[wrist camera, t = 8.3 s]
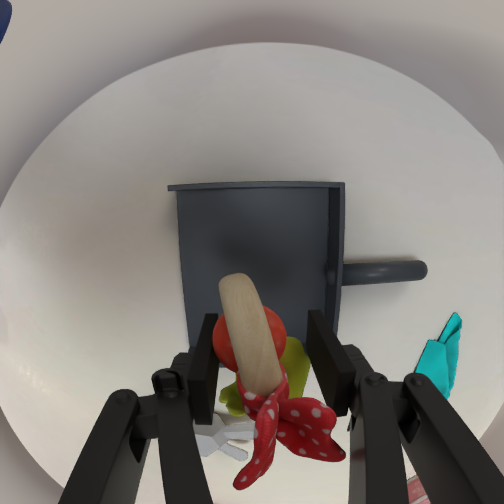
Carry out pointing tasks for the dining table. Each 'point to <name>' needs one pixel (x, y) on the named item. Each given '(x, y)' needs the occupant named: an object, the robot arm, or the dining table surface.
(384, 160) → the dining table surface
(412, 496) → the container
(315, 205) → the scoop
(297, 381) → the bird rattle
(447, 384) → the cloth
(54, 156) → the dining table surface
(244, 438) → the bunny figurine
